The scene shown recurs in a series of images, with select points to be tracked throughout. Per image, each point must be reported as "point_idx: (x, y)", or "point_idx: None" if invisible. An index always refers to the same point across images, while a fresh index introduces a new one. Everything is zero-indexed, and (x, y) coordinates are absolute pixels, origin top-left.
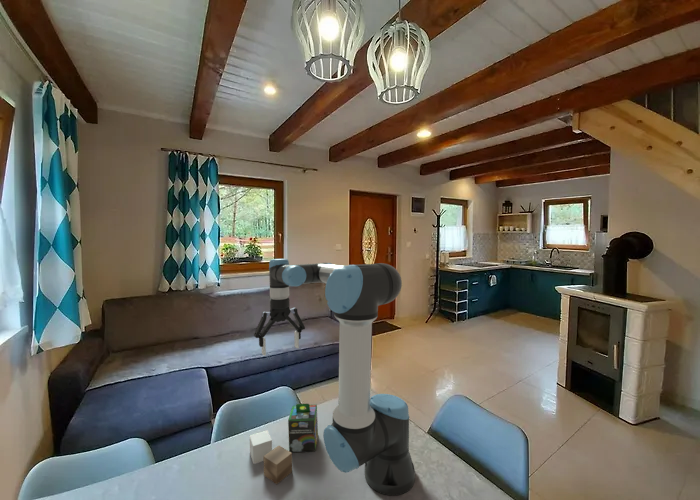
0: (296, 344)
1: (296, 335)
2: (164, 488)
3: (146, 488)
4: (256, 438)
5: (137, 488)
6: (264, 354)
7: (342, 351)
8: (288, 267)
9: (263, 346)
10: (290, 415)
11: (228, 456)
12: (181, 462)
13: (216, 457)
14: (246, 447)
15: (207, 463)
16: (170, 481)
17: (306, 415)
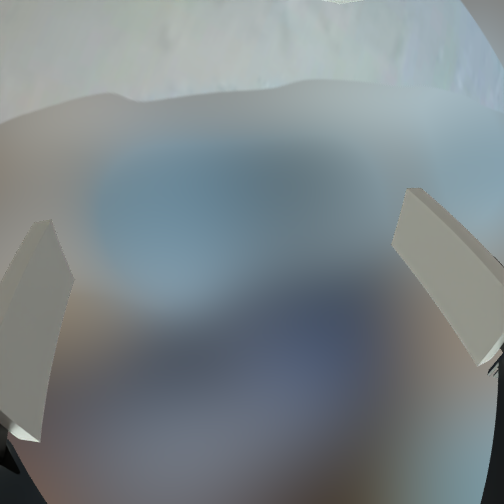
0: (44, 262)
1: (5, 357)
2: (477, 39)
3: (491, 62)
4: None
5: (497, 73)
6: (422, 193)
7: None
8: None
9: (474, 245)
10: None
11: (384, 28)
12: (452, 84)
13: (404, 45)
14: (340, 28)
15: (421, 41)
16: (470, 48)
17: None
